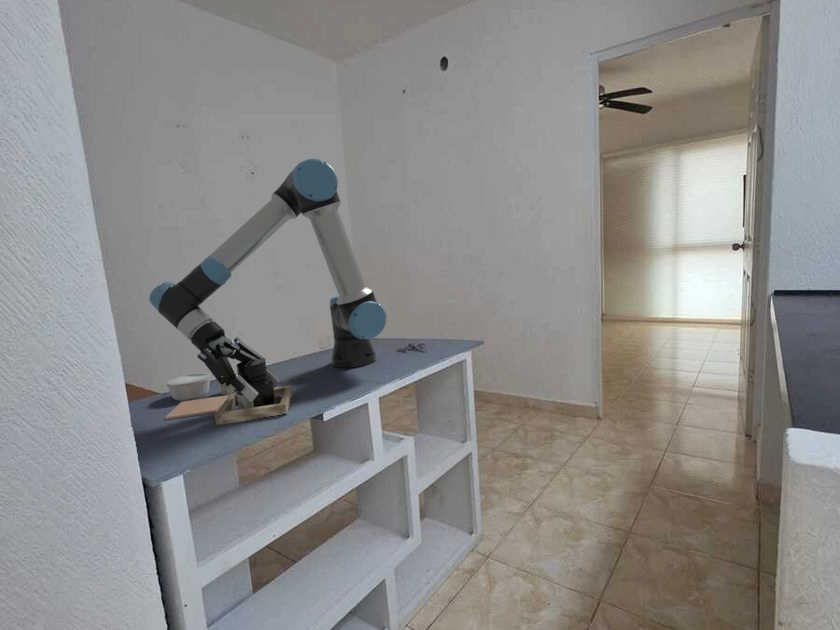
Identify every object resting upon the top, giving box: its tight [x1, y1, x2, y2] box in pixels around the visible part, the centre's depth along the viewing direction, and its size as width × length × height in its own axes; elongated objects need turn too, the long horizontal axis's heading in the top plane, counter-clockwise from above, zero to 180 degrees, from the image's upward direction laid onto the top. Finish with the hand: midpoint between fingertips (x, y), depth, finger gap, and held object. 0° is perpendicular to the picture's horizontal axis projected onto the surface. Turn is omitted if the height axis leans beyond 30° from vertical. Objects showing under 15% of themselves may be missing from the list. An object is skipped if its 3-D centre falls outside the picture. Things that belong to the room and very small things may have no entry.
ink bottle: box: [235, 359, 277, 410], centre depth 109 cm, size 10×9×12 cm
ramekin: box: [166, 372, 211, 402], centre depth 126 cm, size 11×11×5 cm
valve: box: [218, 373, 238, 395], centre depth 129 cm, size 7×7×12 cm
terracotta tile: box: [164, 394, 229, 421], centre depth 115 cm, size 12×12×1 cm
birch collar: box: [214, 384, 294, 426], centre depth 110 cm, size 16×16×2 cm
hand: (266, 391), depth 109 cm, fingers closed on ink bottle, 9 cm apart
